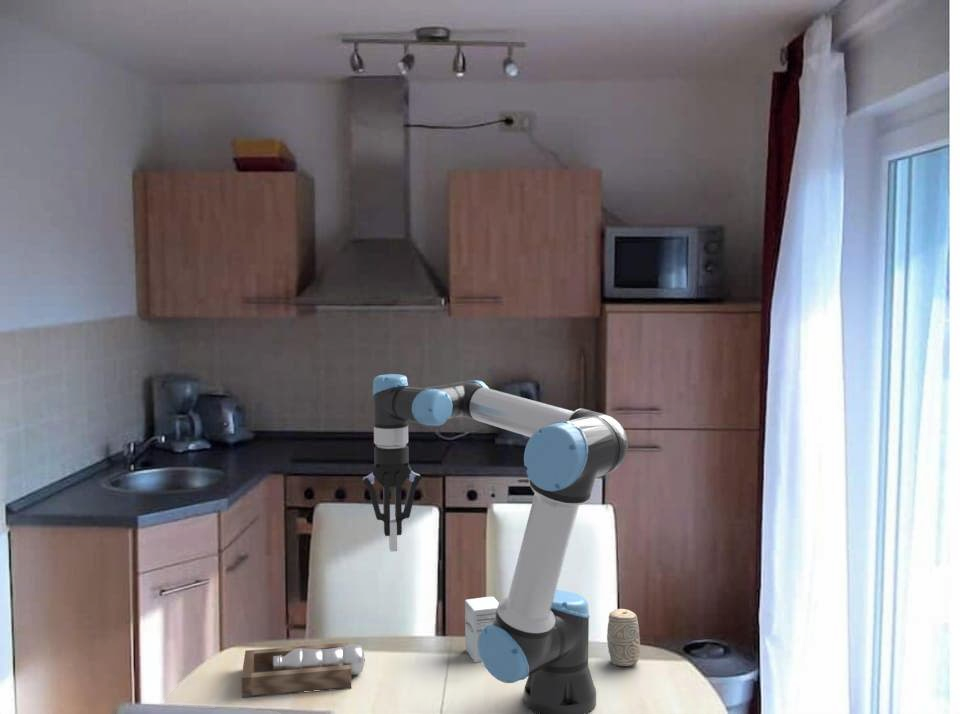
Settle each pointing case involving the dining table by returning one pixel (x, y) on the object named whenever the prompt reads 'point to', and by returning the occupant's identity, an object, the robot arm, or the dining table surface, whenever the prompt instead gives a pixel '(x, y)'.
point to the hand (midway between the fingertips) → (393, 549)
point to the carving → (623, 637)
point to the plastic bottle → (322, 658)
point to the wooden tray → (289, 674)
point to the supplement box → (478, 622)
